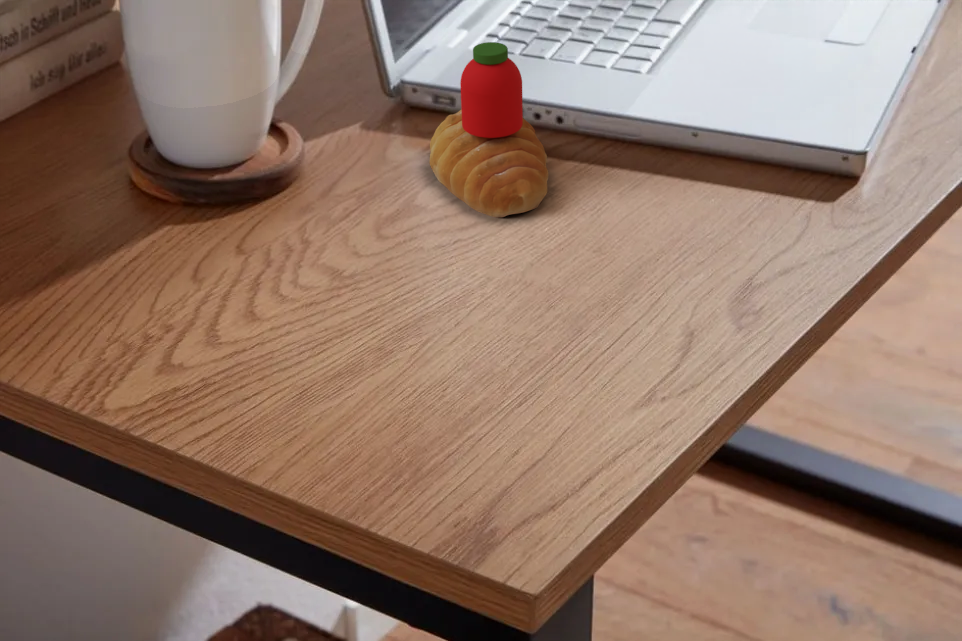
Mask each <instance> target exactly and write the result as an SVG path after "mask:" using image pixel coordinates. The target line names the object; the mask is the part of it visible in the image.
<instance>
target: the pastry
mask: <svg viewBox="0 0 962 641" xmlns="http://www.w3.org/2000/svg"><path fill="white" fill-rule="evenodd" d="M429 150H430V154H429V160H428V161H429V162H428V163H429V166H430V168H431V170H432V172H433V174H434V176H435V178H436V179H437V181H438V182H439V183H440V184H441V185H443V186H444V187H445V188H446V189H447V190H448V191H449V192H450V194H452V195H454V196H455V197H456V198H457V199H459V200H461V201H462V202H463V203H465V204H466V205H467V206H468V207H469V208H471V209H473V210H474V211H476V212H478V213H481V214H484V215H487V216H489V217H491V218H504V217H506V216H509V215H517V214H521V213H526V212H529V211H531V210H534V209H537V208H538V207H539V206H540V204H541V202H542V201H543V199H544V198H545V197H546V195H547V194H548V181H549V169H548V168H547V162H548V156H547V153H546V151H545V147H544V145H543V143H542V142H541V141H540V139H539V138H538V137H537V135H536V130H535V128H534V127H533V126H532V124H530V123H529V122H528V121H527V120H526V119H525V118H524V117H523V125H522V127H521V129H520V130H519V131H517V132H515V133H514V134H511V135H508V136H504V137H497V138H484V137H478V136H474V135H471V134H469V133H467V132H466V131H465V130H464V129H463V127H462V110H461V109H460V110H459V111H457V112H456V113H453V114H449V115H447V116H446V117H445V119H444V120H442V121H441V123H440V124H439V125H438V126H437V128H436V129H435V131H434V133H433V136H432V137H431V139H430V141H429Z"/></svg>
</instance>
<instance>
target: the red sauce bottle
mask: <svg viewBox="0 0 962 641" xmlns="http://www.w3.org/2000/svg"><path fill="white" fill-rule="evenodd" d="M459 84H460V110H462V127H463V129H464V130H465V131H466V132H467V133H469V134H471V135H474V136H478V137H484V138H497V137H504V136H508V135H511V134H514V133H515V132H517V131H519V130H520V129H521V127H522V125H523V118H524V117H523V115H524V114H523V113H524V112H523V111H524V110H523V78H522V74H521V71H520V69H519V67H518V66H517V64H516V63H515V62H514V61H513V60H512V59H511V58H510V57H509V48H508V46H507V45H506V44H504V43H501V42H495V41H487V42H482V43H478V44H476V45H475V46H474V47H473V48H472V59H470V60H469V61H468V63H467V64H466V65H465V66H464V69H463V71H462V73H461V77H460V82H459Z"/></svg>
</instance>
